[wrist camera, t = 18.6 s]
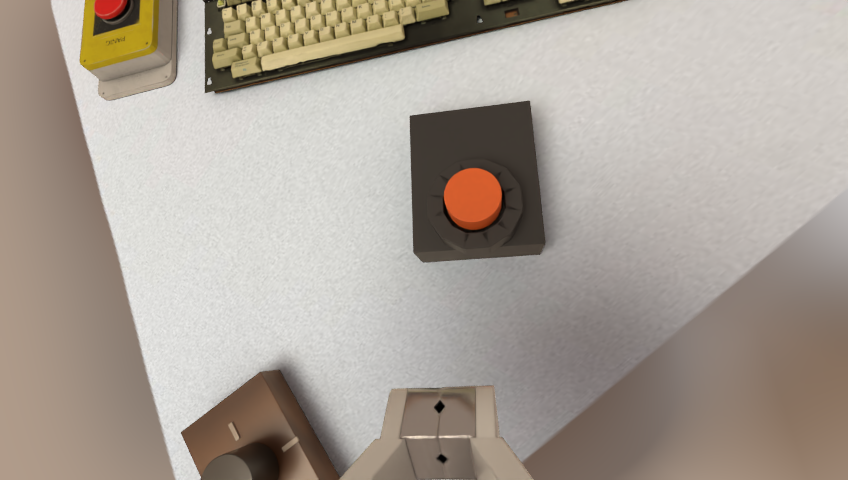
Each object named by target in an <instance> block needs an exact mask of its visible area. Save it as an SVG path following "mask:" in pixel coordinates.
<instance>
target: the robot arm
mask: <svg viewBox="0 0 848 480" xmlns="http://www.w3.org/2000/svg"><path fill="white" fill-rule="evenodd" d="M431 479H461V480H534V479H533V477H532V476H531V475H530V473H529V472H528V471H527V470H526V468H525V467H524V465H523V464H522V463H521V461H520V460H519V459H518V457H517V456H516V455H515V453H514V452H513V451H512V449H511V448H510V447H509V445H508V444H507V443H506V441H505V440H504V439H503V437H500V436H499V425H498V415H497V406H496V397H495V389H494V385H490V386H459V387H442V388H401V389H392V390H391V392H390V394H389V398H388V403H387V408H386V412H385V417H384V422H383V427H382V432H381V436H380V439H375V440H374V441H373V442H372V443H371V444H370V445H369V446H368V448H367V449H366V450H365V451H364V452H363V453H362V454H361V455H360V457H359V458H358V459H357V460H356V461H355V462H354V463H353V464H352V465H351V467H350V468H349V469H348V470H347V471H346V472H345V473H344V474H343V476H342V477H341V478H340V479H339V480H431Z"/></svg>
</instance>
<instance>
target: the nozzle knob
mask: <svg viewBox="0 0 848 480" xmlns="http://www.w3.org/2000/svg"><path fill="white" fill-rule="evenodd" d="M278 476H279V465H278V461H277V458H276V456H275V454H274V452H273V451H272V450H271V449H270V448H269V447H267V446H266V445H264V444H261V443H251V444H248V445H245V446H243V447H240V448H238V449H235V450H233V451H230V452H228V453H225V454H222V455H220V456H218V457H216V458H215V459H213V460H212V461H211V462H210V463H209V464H208V465H207V467H206V468H205V470H204V472H203V474H202V476H201V480H278Z"/></svg>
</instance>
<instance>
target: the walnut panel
mask: <svg viewBox="0 0 848 480" xmlns="http://www.w3.org/2000/svg"><path fill="white" fill-rule="evenodd" d="M181 434H182V436H183V438H184V441H185V443H186V445H187V447H188V449H189V452H190V454H191V456H192V458H193V460H194V463H195V465H196V467H197V469H198V471H199V474H200V476H202V474H203V472H204V470H205V468H206V467H207V465H208V464H209V463H210V462H211V461H212V460H213V459H215V458H216V457H218V456H220V455H222V454H225V453H228V452H230V451H233V450H235V449H238V448H240V447H243V446H245V445H248V444H251V443H261V444H264V445H266V446H267V447H269V448H270V449H271V450H272V451H273V452H274V454H275V456H276V458H277V461H278V465H279V476H278V480H339V479H340V477H339V475H338V473H337V472H336V470H335V468H334V466H333V465H332V463H331V461H330V459H329V457H328V456H327V454H326V452H325V450H324V449H323V447H322V445H321V443H320V441H319V440H318V438H317V436H316V434H315V433H314V431H313V429H312V427H311V425H310V424H309V422H308V420H307V418H306V416H305V415H304V413H303V411H302V409H301V408H300V406H299V404H298V402H297V400H296V399H295V397H294V395H293V393H292V392H291V390H290V388H289V386H288V384H287V383H286V381H285V379H284V377H283V376H282V374H281V372H280V370H273V371H264V372H260V373H258V374H257V375H256V376H254V377H253V378H252V379H250V380H249V381H248V382H246V383H245V384H244V385H243V386H241V387H240V388H239V389H237V390H236V391H235V392H233V393H232V394H231V395H229V396H228V397H227V398H225V399H224V400H223V401H222V402H220V403H219V404H218V405H216V406H215V407H214V408H212V409H211V410H210V411H208V412H207V413H206V414H204V415H203V416H202V417H201V418H199V419H198V420H197V421H195V422H194V423H193V424H191V425H190V426H189V427H187V428H186V429H185V430H183V431H182V432H181Z"/></svg>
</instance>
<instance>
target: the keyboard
mask: <svg viewBox="0 0 848 480" xmlns="http://www.w3.org/2000/svg"><path fill="white" fill-rule="evenodd" d="M203 1H204V2H205V93H207V92H211V91H215V93H220V92H224V91H229V90H233V89H237V88H241V87H246V86H250V85H254V84H259V83H263V82H268V81H272V80H277V79H281V78H286V77H290V76H295V75H299V74H304V73H308V72H312V71H317V70H321V69H326V68H331V67H335V66H339V65H344V64H349V63H353V62H357V61H362V60H366V59H370V58H375V57H379V56H383V55H388V54H392V53H397V52H401V51H406V50H410V49H415V48H419V47H423V46H428V45H432V44H436V43H440V42H445V41H449V40H454V39H458V38H463V37H467V36H471V35H476V34H480V33H484V32H489V31H493V30H497V29H502V28H506V27H511V26H515V25H520V24H524V23H529V22H533V21H537V20H541V19H546V18H550V17H555V16H559V15H564V14H568V13H572V12H577V11H581V10H586V9H590V8H595V7H599V6H604V5H608V4H613V3H617V2H622V1H626V0H203ZM208 1H209V2H208ZM477 16H480V17H481V19H482V20H483V22H481V23H477ZM208 28H211V31H212V33H211V34H207V31H208ZM210 77H211V81H212V84H211V85H207V81H208V78H210Z"/></svg>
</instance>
